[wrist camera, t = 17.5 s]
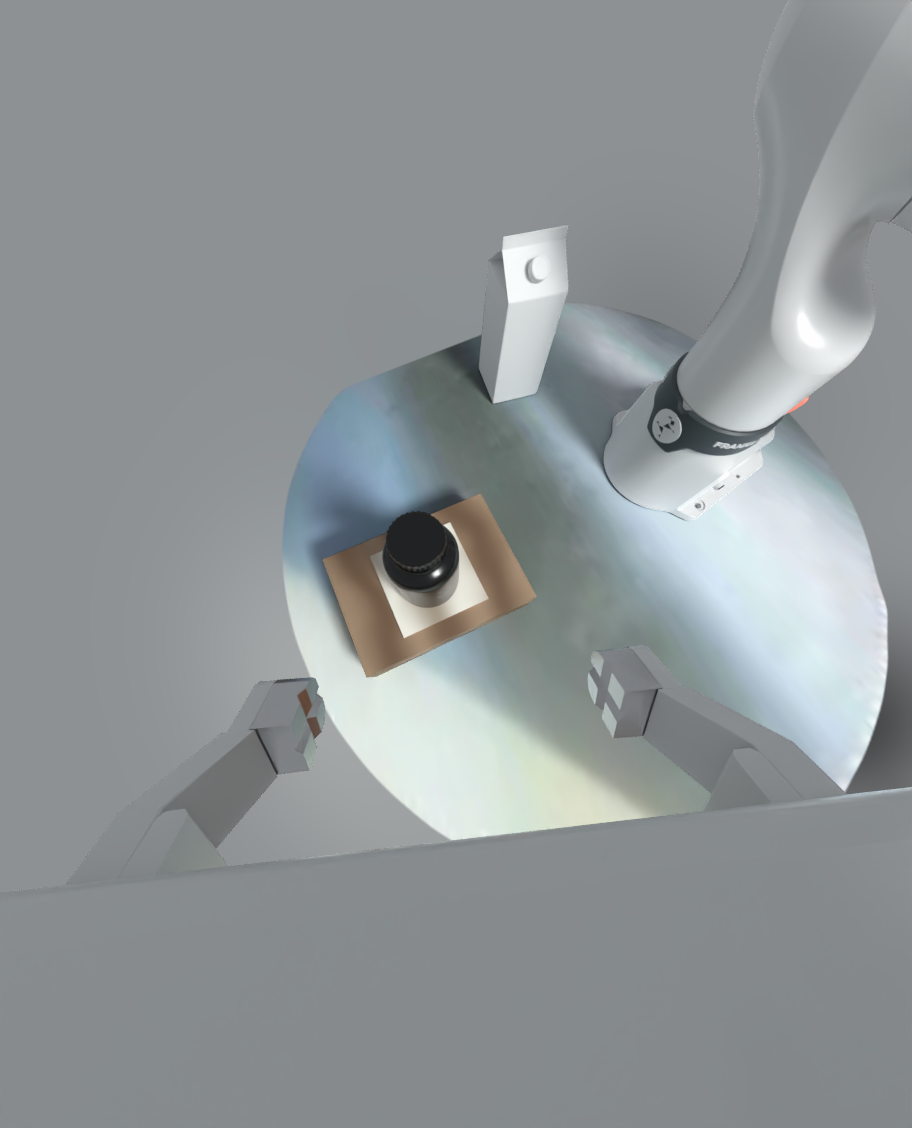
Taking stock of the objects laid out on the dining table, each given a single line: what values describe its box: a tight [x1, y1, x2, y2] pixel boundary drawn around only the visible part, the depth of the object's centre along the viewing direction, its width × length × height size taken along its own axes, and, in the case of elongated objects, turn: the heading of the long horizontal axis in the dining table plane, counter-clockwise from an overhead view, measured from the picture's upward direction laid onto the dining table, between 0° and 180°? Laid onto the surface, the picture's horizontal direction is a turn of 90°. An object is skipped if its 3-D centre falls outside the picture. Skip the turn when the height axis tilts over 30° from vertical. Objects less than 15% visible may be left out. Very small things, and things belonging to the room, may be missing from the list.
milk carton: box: [479, 225, 568, 403], centre depth 44 cm, size 7×7×19 cm
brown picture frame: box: [322, 494, 536, 677], centre depth 41 cm, size 20×14×5 cm
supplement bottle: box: [382, 511, 459, 608], centre depth 32 cm, size 7×7×12 cm
